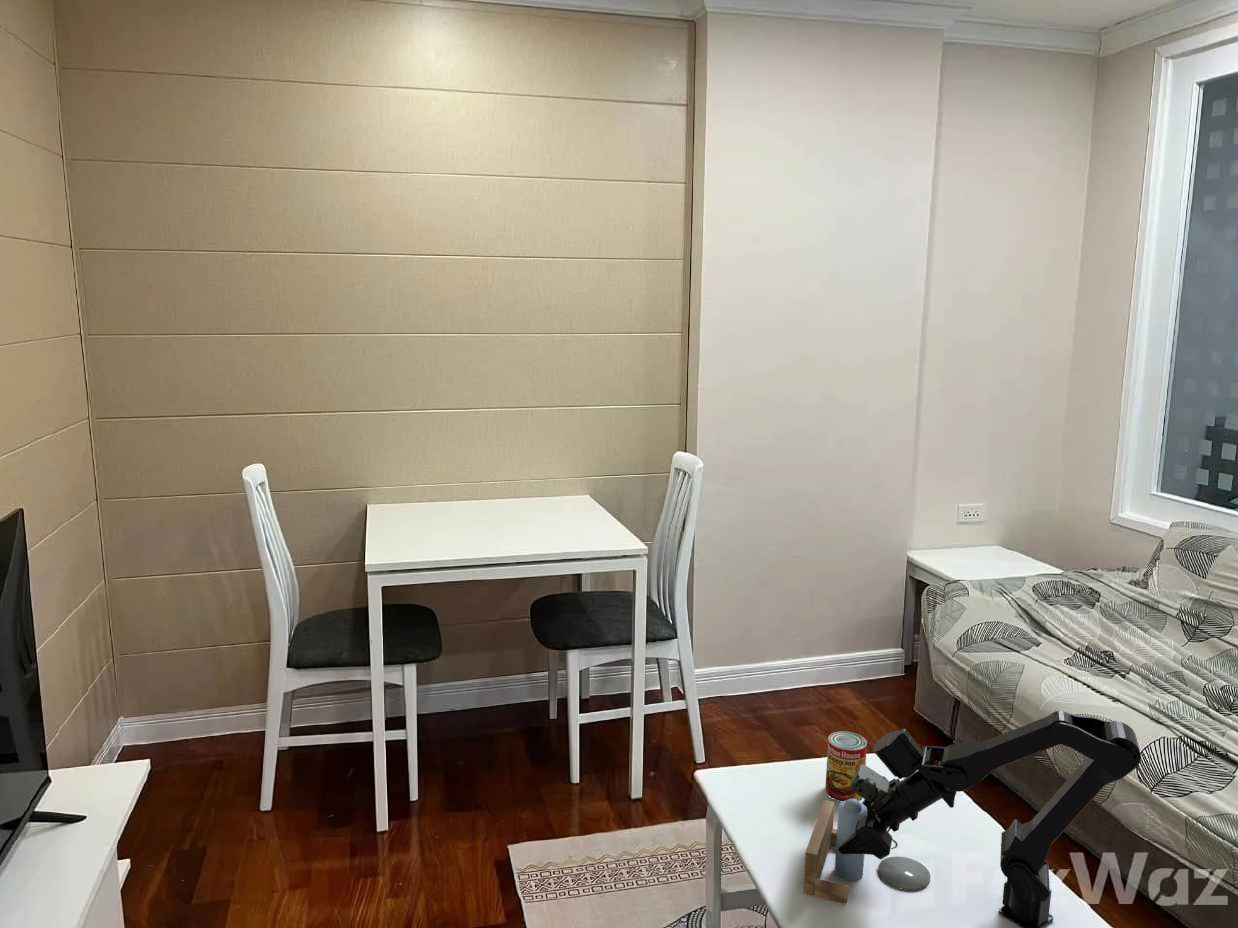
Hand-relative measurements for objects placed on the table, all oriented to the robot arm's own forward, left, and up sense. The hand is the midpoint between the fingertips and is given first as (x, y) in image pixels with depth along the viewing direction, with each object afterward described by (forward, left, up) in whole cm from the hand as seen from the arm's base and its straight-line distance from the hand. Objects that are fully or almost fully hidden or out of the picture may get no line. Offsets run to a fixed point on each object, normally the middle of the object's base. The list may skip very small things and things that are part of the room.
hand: (843, 836), depth 168 cm
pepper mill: (-1, -1, -7) cm, 7 cm away
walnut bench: (+1, +1, -7) cm, 7 cm away
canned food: (+18, -21, -7) cm, 28 cm away
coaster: (-7, -9, -7) cm, 13 cm away
